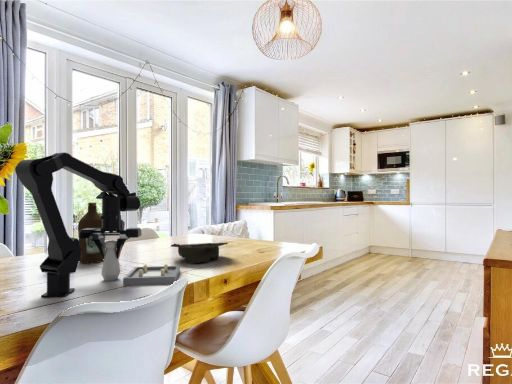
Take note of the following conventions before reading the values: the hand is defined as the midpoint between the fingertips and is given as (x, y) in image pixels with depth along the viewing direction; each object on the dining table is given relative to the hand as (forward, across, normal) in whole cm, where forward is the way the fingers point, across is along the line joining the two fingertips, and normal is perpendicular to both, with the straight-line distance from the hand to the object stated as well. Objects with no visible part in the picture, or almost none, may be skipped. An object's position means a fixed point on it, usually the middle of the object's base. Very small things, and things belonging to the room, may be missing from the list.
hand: (111, 258), depth 110 cm
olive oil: (+7, +17, -31) cm, 36 cm away
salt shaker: (+7, 0, 0) cm, 7 cm away
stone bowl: (+7, -28, -30) cm, 42 cm away
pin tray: (+7, -14, 0) cm, 16 cm away
